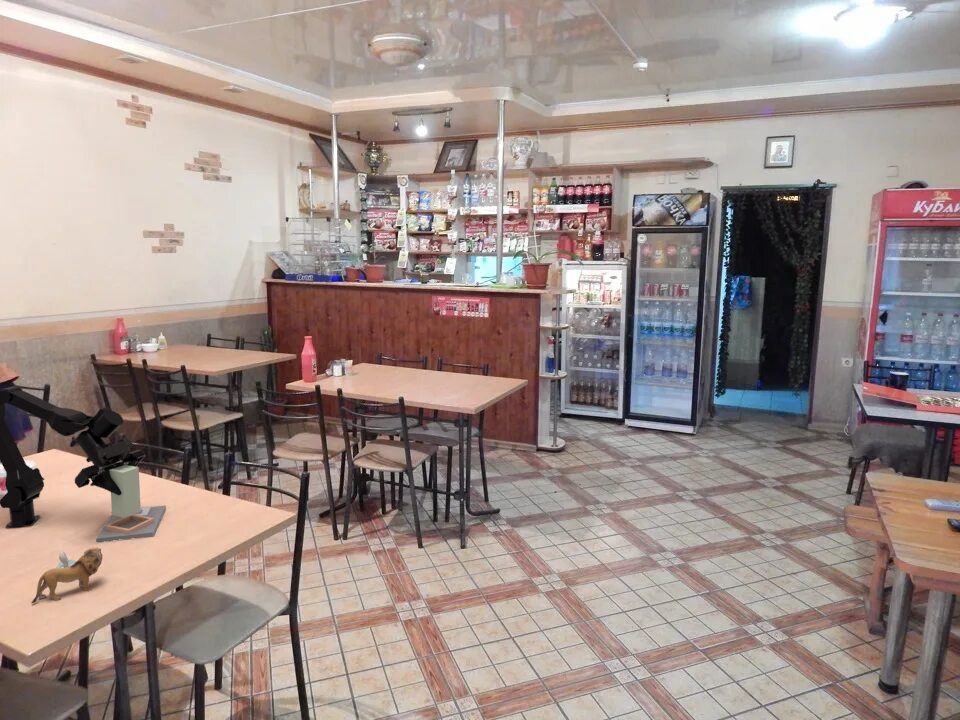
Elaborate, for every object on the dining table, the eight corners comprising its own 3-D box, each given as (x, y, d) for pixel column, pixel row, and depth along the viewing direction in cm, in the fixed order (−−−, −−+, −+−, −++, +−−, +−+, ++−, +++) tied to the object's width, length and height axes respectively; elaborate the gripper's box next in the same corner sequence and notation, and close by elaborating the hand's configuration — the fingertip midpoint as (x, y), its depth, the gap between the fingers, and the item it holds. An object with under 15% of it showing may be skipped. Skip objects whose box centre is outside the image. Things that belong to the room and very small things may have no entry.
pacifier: (85, 565, 156) (56, 570, 153) (83, 541, 155) (55, 547, 152) (87, 577, 150) (57, 583, 147) (85, 553, 149) (55, 559, 146)
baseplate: (114, 514, 186) (114, 509, 186) (166, 509, 190) (165, 504, 190) (96, 542, 167) (95, 537, 167) (153, 536, 172) (153, 531, 171)
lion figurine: (100, 576, 150) (97, 542, 149) (108, 584, 147) (105, 548, 145) (28, 601, 139) (23, 564, 138) (35, 610, 136) (31, 572, 134)
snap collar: (105, 529, 173) (104, 525, 172) (131, 517, 181) (130, 513, 180) (129, 534, 170) (128, 530, 170) (154, 522, 178) (154, 518, 178)
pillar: (112, 514, 172) (109, 470, 170) (127, 508, 177) (125, 464, 175) (125, 517, 171) (122, 472, 169) (140, 511, 175) (138, 467, 173)
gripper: (78, 440, 163) (113, 485, 161) (138, 422, 180) (170, 463, 178) (59, 465, 166) (93, 509, 165) (119, 445, 184) (151, 485, 182)
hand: (129, 490), depth 172 cm, fingers closed on pillar, 5 cm apart
